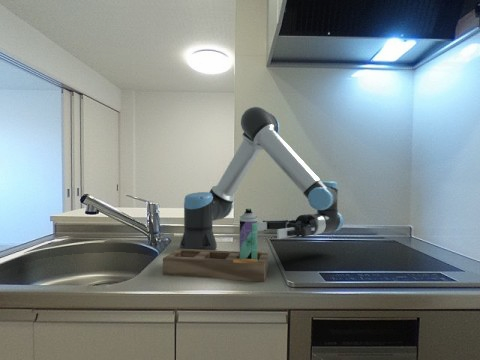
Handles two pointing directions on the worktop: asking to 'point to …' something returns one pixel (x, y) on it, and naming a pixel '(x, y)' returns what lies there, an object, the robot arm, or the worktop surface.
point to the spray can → (248, 235)
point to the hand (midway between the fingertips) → (263, 230)
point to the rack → (215, 265)
